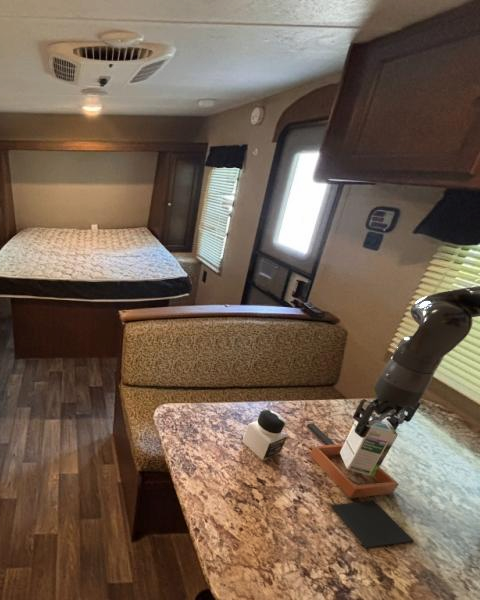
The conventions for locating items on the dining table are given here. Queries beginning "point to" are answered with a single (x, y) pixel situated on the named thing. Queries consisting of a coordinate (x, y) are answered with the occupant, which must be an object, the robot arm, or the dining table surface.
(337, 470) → the pan
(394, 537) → the mat
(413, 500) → the dining table surface
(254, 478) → the dining table surface
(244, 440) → the medicine bottle
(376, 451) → the syrup box
